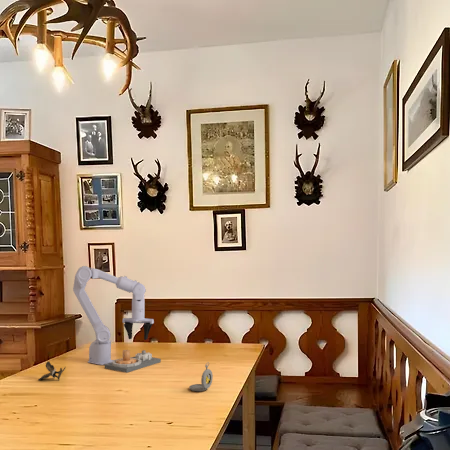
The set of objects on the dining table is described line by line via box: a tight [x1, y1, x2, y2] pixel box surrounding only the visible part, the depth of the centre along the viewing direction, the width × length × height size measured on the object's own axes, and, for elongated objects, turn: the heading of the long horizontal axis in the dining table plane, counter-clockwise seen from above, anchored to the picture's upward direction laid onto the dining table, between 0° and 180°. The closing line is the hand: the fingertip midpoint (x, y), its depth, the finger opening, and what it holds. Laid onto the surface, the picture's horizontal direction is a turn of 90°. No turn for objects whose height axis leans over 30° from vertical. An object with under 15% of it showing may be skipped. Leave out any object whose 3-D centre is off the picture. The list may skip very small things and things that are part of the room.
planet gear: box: [115, 349, 136, 364], centre depth 197 cm, size 8×8×6 cm
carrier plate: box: [104, 349, 162, 374], centre depth 200 cm, size 13×21×5 cm, turn 147°
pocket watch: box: [188, 362, 214, 392], centre depth 165 cm, size 8×8×10 cm
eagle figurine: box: [37, 361, 67, 381], centre depth 178 cm, size 8×7×9 cm
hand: (138, 339), depth 210 cm, fingers open, 7 cm apart
